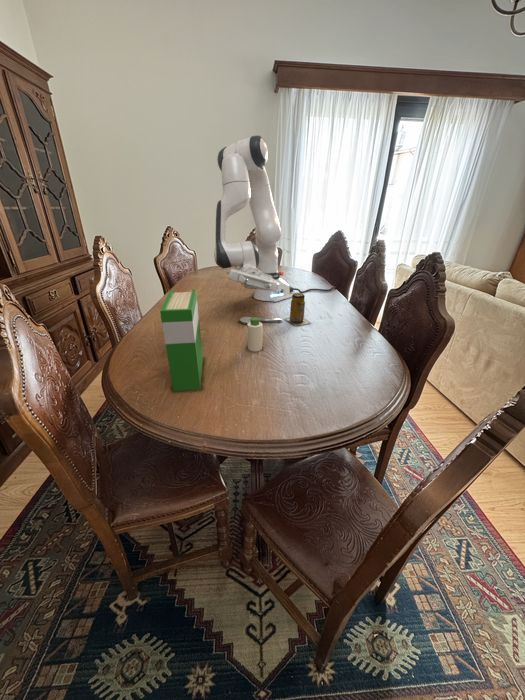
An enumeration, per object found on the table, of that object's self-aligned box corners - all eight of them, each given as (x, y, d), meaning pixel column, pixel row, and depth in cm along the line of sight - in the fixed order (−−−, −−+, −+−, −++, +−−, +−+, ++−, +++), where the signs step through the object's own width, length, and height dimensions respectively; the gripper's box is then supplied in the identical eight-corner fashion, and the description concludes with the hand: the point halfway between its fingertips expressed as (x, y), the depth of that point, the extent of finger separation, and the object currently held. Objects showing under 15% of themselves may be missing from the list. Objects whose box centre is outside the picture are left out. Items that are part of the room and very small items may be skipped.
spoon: (281, 319, 129) (281, 316, 128) (282, 324, 123) (282, 321, 122) (240, 318, 128) (240, 315, 128) (239, 324, 123) (239, 321, 122)
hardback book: (180, 359, 96) (170, 289, 84) (202, 358, 97) (195, 289, 85) (173, 391, 80) (160, 310, 69) (200, 389, 81) (191, 309, 70)
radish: (257, 343, 107) (257, 314, 102) (264, 349, 103) (265, 319, 98) (245, 347, 105) (244, 317, 99) (252, 352, 101) (252, 322, 95)
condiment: (299, 317, 131) (301, 291, 126) (309, 323, 125) (312, 296, 119) (285, 319, 128) (286, 293, 123) (295, 326, 122) (297, 299, 116)
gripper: (227, 262, 114) (232, 268, 102) (274, 276, 121) (284, 283, 108) (224, 278, 116) (228, 285, 104) (270, 291, 123) (279, 299, 110)
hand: (257, 284), depth 106 cm, fingers open, 8 cm apart
